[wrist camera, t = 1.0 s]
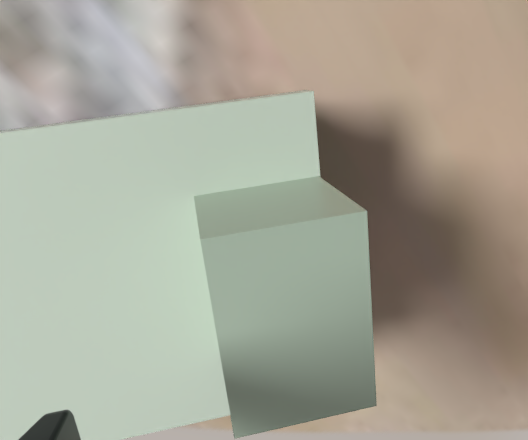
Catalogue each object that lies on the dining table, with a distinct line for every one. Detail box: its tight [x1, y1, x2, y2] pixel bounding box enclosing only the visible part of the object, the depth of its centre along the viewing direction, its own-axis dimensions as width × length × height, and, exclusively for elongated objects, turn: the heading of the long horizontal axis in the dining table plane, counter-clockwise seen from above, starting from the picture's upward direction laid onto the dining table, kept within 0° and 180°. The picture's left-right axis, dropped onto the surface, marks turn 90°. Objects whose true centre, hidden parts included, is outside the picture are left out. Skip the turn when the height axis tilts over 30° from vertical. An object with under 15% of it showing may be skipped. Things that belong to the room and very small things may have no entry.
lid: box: [0, 90, 376, 440], centre depth 12 cm, size 13×10×5 cm
